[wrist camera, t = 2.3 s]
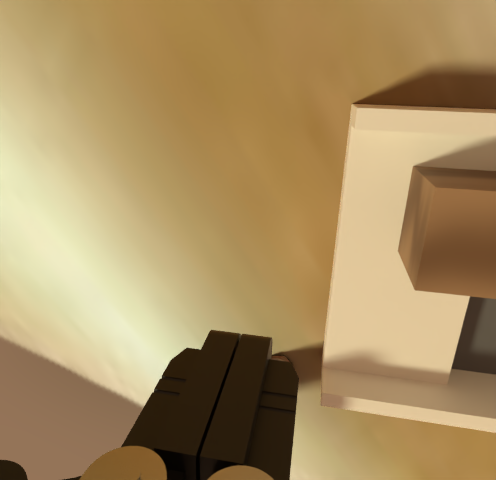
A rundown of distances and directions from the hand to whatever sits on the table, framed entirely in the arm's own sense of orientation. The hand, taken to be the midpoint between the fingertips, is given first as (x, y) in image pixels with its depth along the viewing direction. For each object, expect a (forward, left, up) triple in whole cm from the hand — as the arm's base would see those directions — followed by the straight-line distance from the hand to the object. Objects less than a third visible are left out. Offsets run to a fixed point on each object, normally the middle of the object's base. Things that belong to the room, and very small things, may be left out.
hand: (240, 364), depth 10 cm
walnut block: (0, +9, -15) cm, 18 cm away
